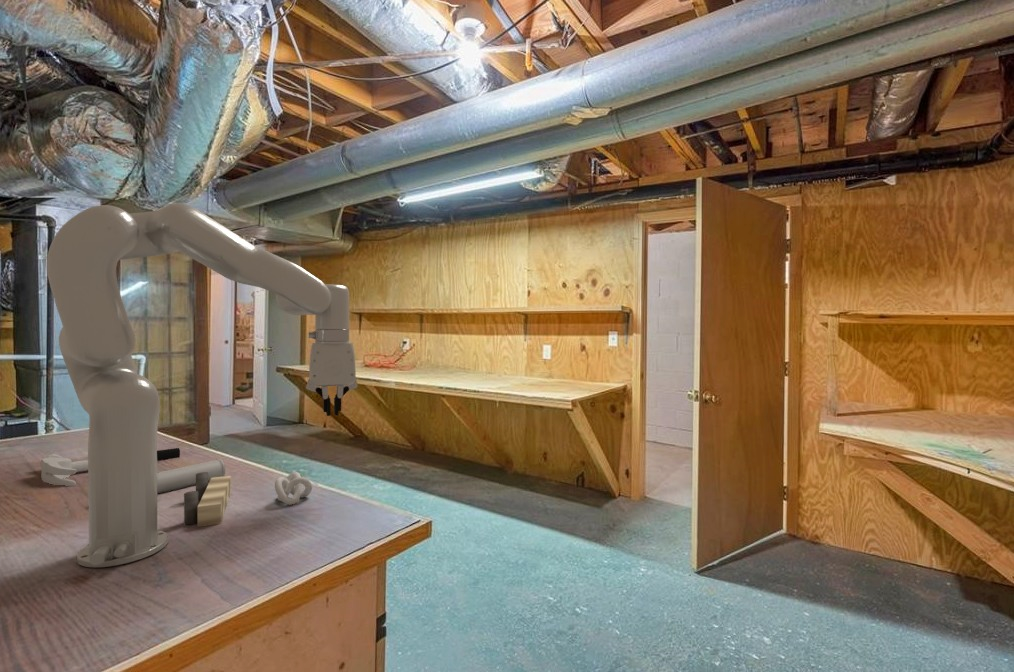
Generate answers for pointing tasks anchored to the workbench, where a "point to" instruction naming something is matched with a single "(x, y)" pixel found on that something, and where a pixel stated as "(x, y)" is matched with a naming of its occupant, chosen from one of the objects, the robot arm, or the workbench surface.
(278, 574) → the workbench surface
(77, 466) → the claw hammer
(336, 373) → the robot arm
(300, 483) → the knot
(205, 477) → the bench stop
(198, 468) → the tube
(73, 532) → the workbench surface
